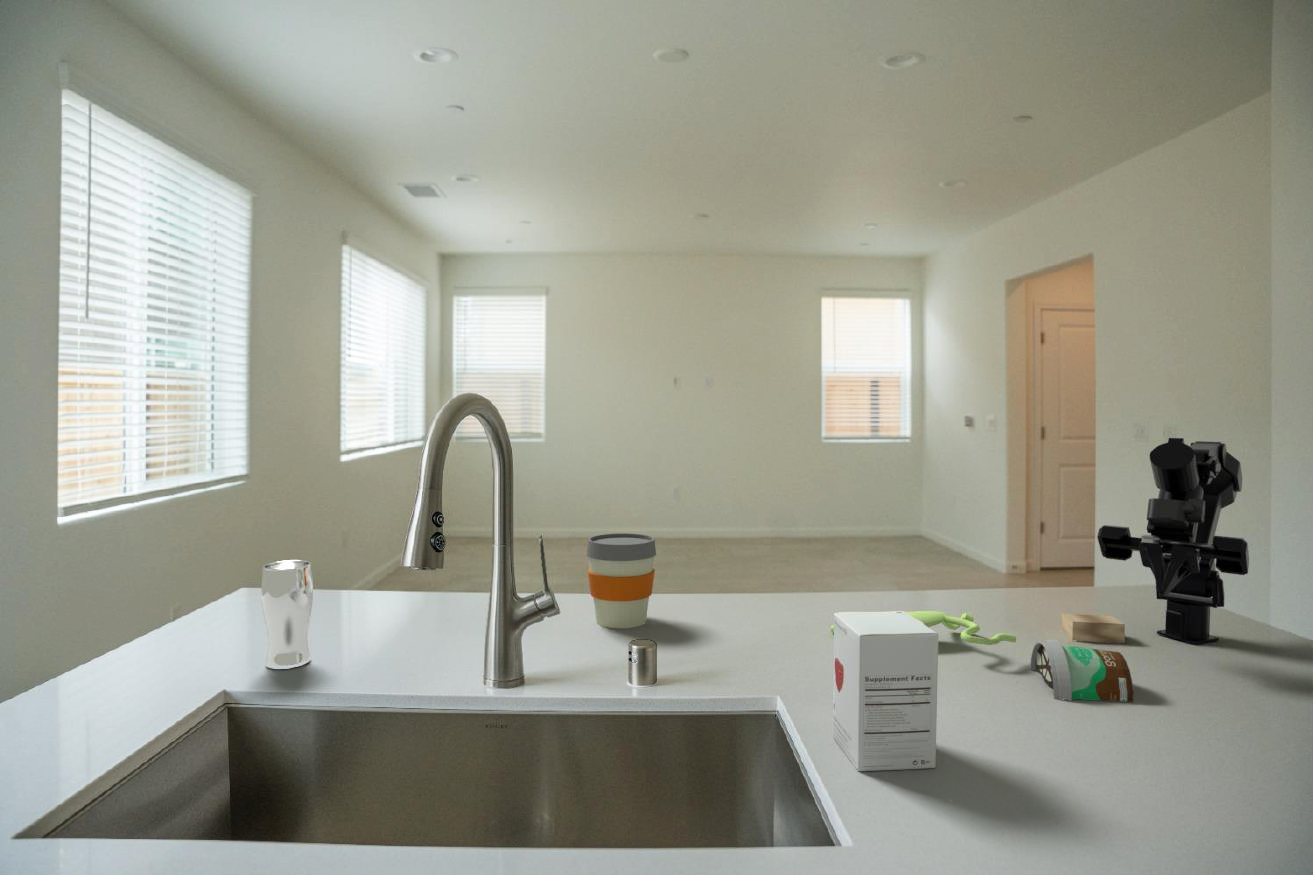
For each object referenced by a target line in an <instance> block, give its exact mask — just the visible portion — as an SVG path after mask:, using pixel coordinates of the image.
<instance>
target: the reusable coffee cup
mask: <svg viewBox="0 0 1313 875" xmlns="http://www.w3.org/2000/svg"><path fill="white" fill-rule="evenodd" d="M655 541H656V539H655V537H653V536H652V535H648V534H641V533H629V532H628V533H626V532H624V533H623V532H619V533H617V532H616V533H604V534H598V535H597V534H596V535H592V536H589V537H588V538H587V544H586V545H587V546H586V557H588V564H589V568H588V570H587V575H588V576H587V577H588V583H589V591H590V596H591V597H592V598H593V604H594V614H595V621H596V624H597V625H599V626H600V627H604V628H609V629H631V628H632V629H633V628H638V627H641V626H643V625H645V624H646V623H647V616H648V608H649V600H650V599H649V598H650V597H651V596H652V594H653V585H654V579H655V572H656V570H655V568H654V561H655V560H654V559H655V556H656V555H657V551H656V548H657V547H656V542H655Z"/></svg>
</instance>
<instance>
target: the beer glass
mask: <svg viewBox="0 0 1313 875" xmlns="http://www.w3.org/2000/svg"><path fill="white" fill-rule="evenodd" d="M261 575H262V576H261V589H260V590H261V605H262V606H261V607H262V612H263V617H264V622H265V627H266V631H267V632H266V633H267V638H268V650H267V657H266V661H265V662H267V663H268V664H270V665H276V666H286V665H287V666H288V665H294V664H298V663H302V662H304V661H308V660H309V659H310V658H311V659H312V657H311V652H310V646H309V638H308V634H309V626H310V622H311V621H310V619H311V615H312V610H313V609H312V608H313V601H314V600H313V599H314V582H313V571H312V562H311V561H309V560H303V559H290V560H280V561H272V562H269V563H265V564H263V565H262V574H261Z"/></svg>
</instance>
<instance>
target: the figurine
mask: <svg viewBox="0 0 1313 875" xmlns="http://www.w3.org/2000/svg"><path fill="white" fill-rule="evenodd" d="M905 612H906V613H908V614H909V615H911V616H912V617H914V618H915V619H917V620H920V621H921V622H923V623H924V625H926V626H927V627H929V628H931V627H933V626H936V625H939V624H942V625H943V626H944V627H945V628H947V629H948V630H952V631H953V630H954V631H955V630H957V629H959V628H961V627H964V628H966V629H964V630H963V631H962V632H961V633H960V639H961V640H962V641H964V642H967V643H971V644H975V645H976V644H977V645H978V644H979V645H984V646H985V645H987V646H993V645H996V644H997V645H998V644H999V643H1001V642H1011V643H1017V637H1016V635H1015V634H1012V633H1003V632H1001V633H999V632H998V633H997V634H995V635H994V636H992V637H991V638H983V637H978V636H974V634H977V633H978V632H979V631H980V630H981V628H980V626H979V625H978V624H977V623H975V622H974V620H975V619H974V616H973V614H970V613H968V612H965V613H962V615H961V616H960V617H956V616H951V615H949V614H948V613H947V612H944V611H935V610H918V611H915V610H914V611H905ZM829 631H830V632H831V633H833V634H834V624H832V625H831V626H830V628H829ZM972 635H973V636H972Z"/></svg>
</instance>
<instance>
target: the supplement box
mask: <svg viewBox="0 0 1313 875" xmlns="http://www.w3.org/2000/svg"><path fill="white" fill-rule="evenodd" d="M906 612H907V611H905V610H893V611H839V612H834V613H833V625H834V633H833V676H832V677H833V678H832V679H833V683H832V684H833V685H832V686H833V688H832V689H833V691H832V692H833V694H832V695H833V698H832V700H833V702H832V703H833V704H832V705H833V706H832V737H833V739H834V740H835V741H836V743H837V744H838V745H839V747H840V748H841V749H842V751H843V753H844V754H845V755H846V757H847V758H848V759H849V761H850V762H851V763H852V764H853V766H854V768H855V769H856V770H857V771H858V772H872V771H873V772H876V771H878V772H879V771H894V770H895V771H896V770H897V771H898V770H920V769H935V768H936V766H937V765H936V764H937V763H936V759H937V723H938V722H937V718H938V714H937V713H938V676H939V674H938V673H939V672H938V671H939V670H938V668H939V633H938V632H936V631H935V630H933V629H932V628H931V627H927V626H926V625H924V623H923V622H921V621H920V620H917V619H915V618H914V617H912V616H911V615H909V614H908V613H906Z"/></svg>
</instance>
